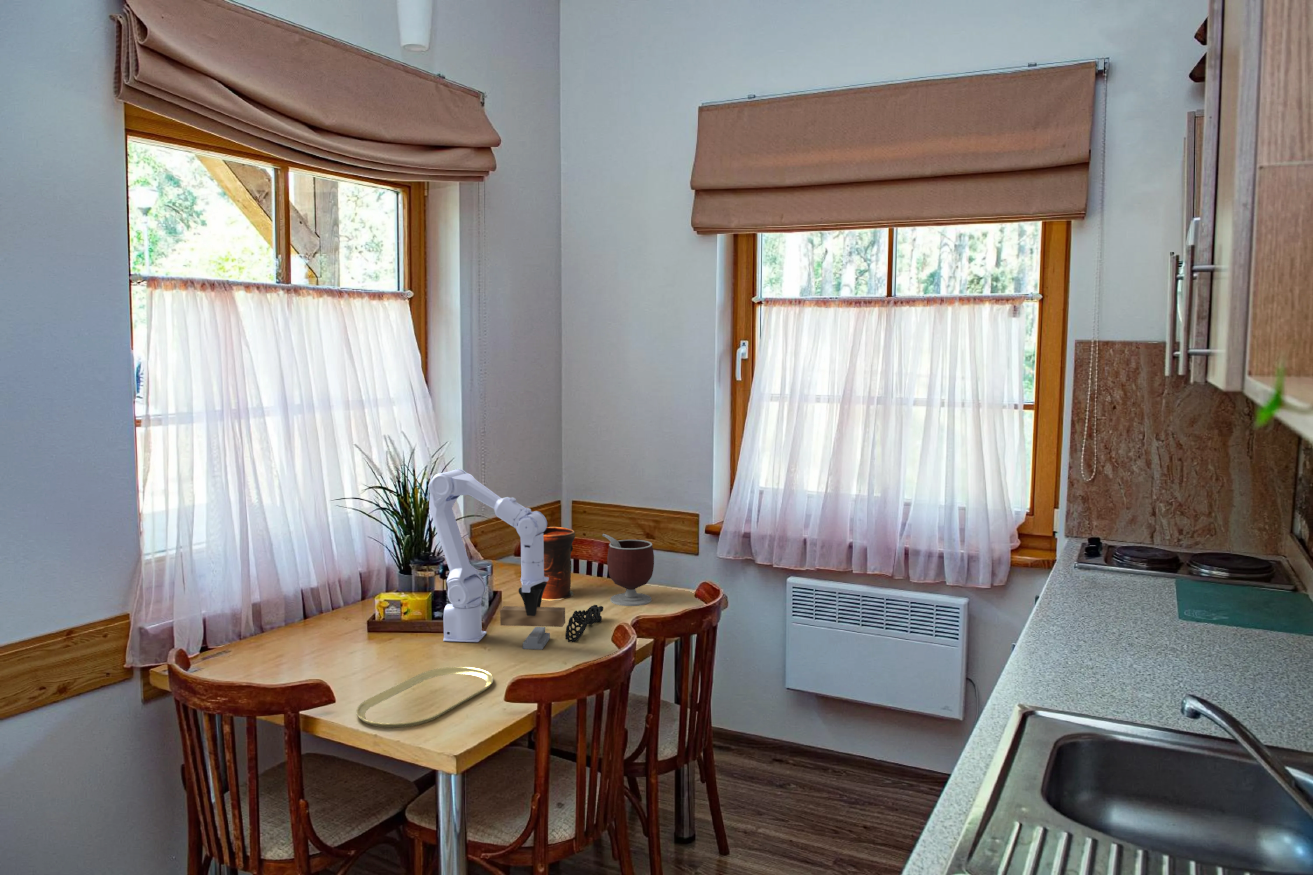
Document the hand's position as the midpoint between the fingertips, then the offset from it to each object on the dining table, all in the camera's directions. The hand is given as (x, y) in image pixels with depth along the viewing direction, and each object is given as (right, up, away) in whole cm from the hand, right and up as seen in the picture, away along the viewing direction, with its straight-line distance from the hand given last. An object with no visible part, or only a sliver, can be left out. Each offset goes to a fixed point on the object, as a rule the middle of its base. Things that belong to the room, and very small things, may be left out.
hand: (533, 613), depth 243 cm
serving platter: (-18, -13, -35) cm, 41 cm away
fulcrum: (+1, -8, +2) cm, 9 cm away
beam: (0, -3, 0) cm, 3 cm away
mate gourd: (+23, -4, +43) cm, 49 cm away
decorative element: (+12, -8, +14) cm, 20 cm away
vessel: (-1, -4, +49) cm, 49 cm away
